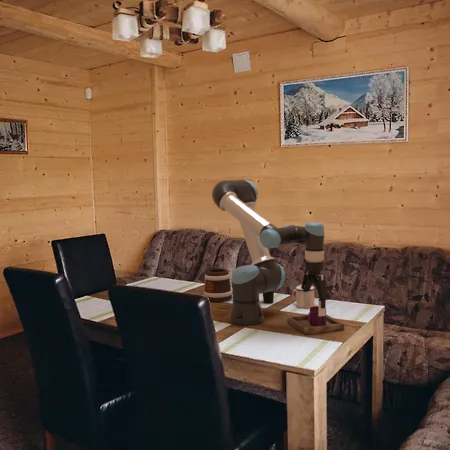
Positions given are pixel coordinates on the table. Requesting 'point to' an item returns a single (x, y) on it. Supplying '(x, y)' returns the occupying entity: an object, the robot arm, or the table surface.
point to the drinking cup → (268, 297)
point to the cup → (316, 317)
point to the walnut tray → (307, 329)
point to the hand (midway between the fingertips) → (314, 311)
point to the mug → (217, 285)
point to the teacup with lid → (300, 296)
